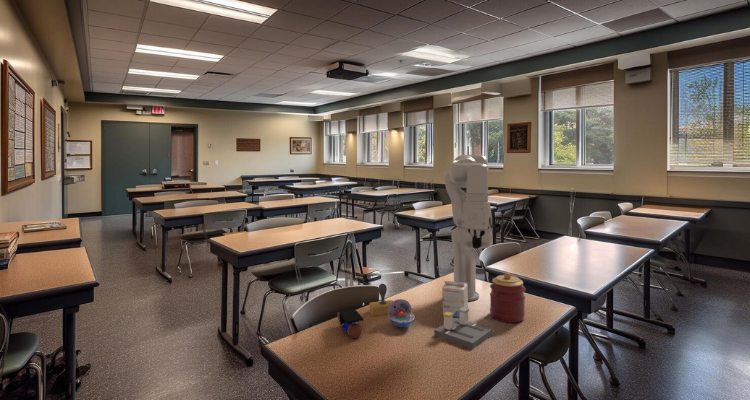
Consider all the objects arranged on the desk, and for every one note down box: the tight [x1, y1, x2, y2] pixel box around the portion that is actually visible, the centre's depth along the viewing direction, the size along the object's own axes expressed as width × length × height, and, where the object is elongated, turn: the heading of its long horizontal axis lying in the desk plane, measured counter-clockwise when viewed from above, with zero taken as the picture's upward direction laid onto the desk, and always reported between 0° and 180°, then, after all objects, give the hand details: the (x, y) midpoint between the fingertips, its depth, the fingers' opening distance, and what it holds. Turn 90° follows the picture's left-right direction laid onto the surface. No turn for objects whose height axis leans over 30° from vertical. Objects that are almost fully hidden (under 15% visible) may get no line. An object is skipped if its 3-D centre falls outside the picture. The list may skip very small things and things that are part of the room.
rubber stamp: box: [369, 283, 394, 317], centre depth 157 cm, size 10×6×12 cm, turn 104°
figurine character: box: [336, 308, 365, 339], centre depth 140 cm, size 7×8×15 cm
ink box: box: [441, 280, 469, 319], centre depth 154 cm, size 9×8×13 cm
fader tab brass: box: [442, 312, 454, 330], centre depth 135 cm, size 3×3×5 cm
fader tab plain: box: [459, 307, 470, 325], centre depth 139 cm, size 3×3×5 cm
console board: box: [434, 317, 494, 350], centre depth 135 cm, size 15×14×2 cm
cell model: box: [387, 298, 416, 328], centre depth 144 cm, size 10×12×10 cm
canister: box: [489, 271, 526, 324], centre depth 150 cm, size 13×13×18 cm
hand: (476, 247), depth 142 cm, fingers closed
